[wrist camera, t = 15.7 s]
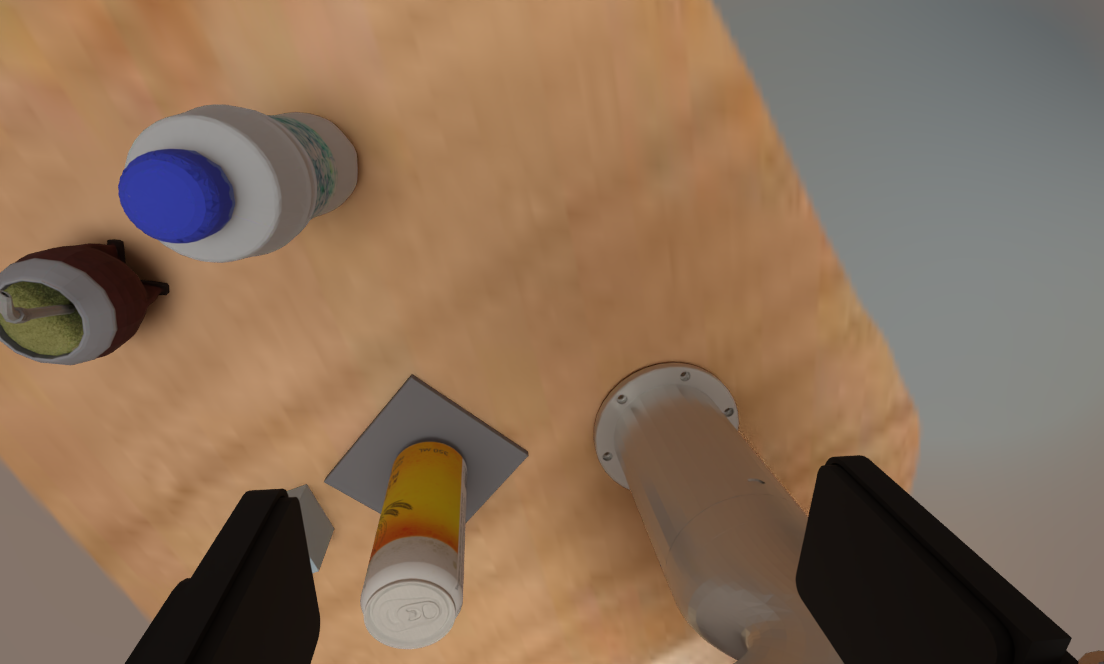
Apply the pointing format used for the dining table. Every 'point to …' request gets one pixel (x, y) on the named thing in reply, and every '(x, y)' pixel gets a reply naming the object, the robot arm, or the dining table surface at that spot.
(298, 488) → the letter block
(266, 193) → the bottle
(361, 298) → the dining table surface
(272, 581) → the robot arm
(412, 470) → the beer can
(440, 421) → the coaster
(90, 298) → the mate gourd
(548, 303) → the dining table surface
